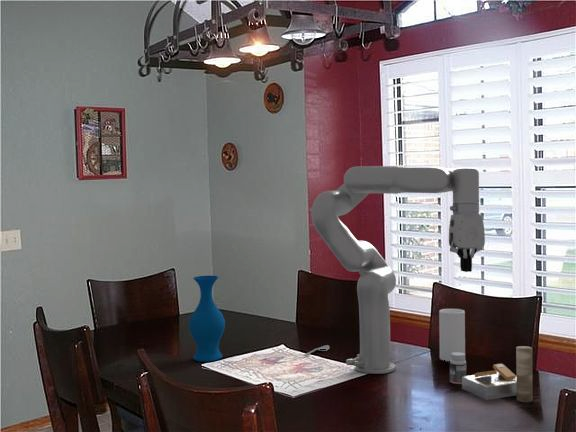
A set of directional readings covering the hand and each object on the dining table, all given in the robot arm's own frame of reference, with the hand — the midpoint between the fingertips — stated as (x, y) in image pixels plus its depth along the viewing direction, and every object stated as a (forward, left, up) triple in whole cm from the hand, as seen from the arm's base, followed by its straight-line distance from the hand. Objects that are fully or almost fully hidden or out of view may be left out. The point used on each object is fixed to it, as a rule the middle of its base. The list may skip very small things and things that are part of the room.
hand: (466, 271), depth 197 cm
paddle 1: (-4, -14, -28) cm, 31 cm away
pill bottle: (-5, -2, -32) cm, 33 cm away
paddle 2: (+2, -14, -28) cm, 31 cm away
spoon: (-31, +46, -33) cm, 64 cm away
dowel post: (+1, -23, -32) cm, 40 cm away
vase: (-65, +56, -32) cm, 92 cm away
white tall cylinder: (+9, +20, -32) cm, 39 cm away
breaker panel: (-1, -14, -32) cm, 35 cm away
